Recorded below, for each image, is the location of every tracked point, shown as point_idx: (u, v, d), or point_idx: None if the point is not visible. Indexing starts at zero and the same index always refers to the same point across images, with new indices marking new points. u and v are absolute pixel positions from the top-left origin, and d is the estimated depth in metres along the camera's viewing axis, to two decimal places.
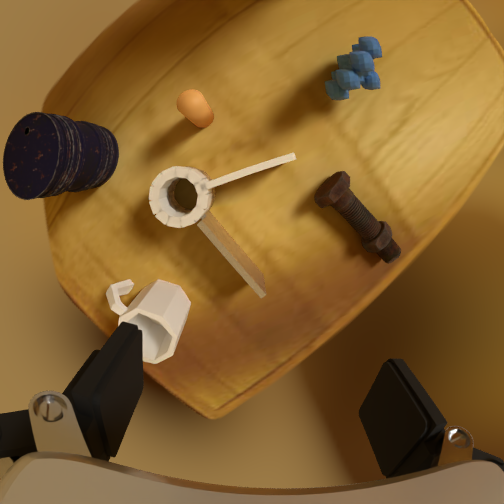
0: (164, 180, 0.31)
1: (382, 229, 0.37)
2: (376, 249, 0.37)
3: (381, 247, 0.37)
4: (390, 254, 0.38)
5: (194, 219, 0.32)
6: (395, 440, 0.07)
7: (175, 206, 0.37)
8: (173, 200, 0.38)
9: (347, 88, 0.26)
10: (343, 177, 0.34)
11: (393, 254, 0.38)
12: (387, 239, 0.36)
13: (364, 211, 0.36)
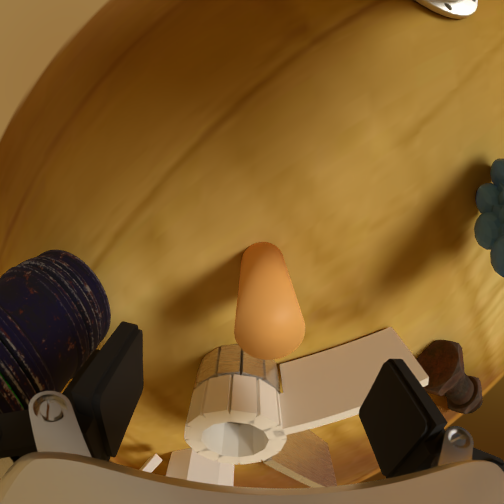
0: (210, 423, 0.16)
1: (475, 393, 0.21)
2: (462, 412, 0.22)
3: (468, 411, 0.22)
4: (472, 409, 0.23)
5: (260, 459, 0.17)
6: (395, 440, 0.07)
7: None
8: None
9: None
10: (460, 364, 0.19)
11: (475, 408, 0.23)
12: (477, 403, 0.21)
13: (465, 384, 0.21)
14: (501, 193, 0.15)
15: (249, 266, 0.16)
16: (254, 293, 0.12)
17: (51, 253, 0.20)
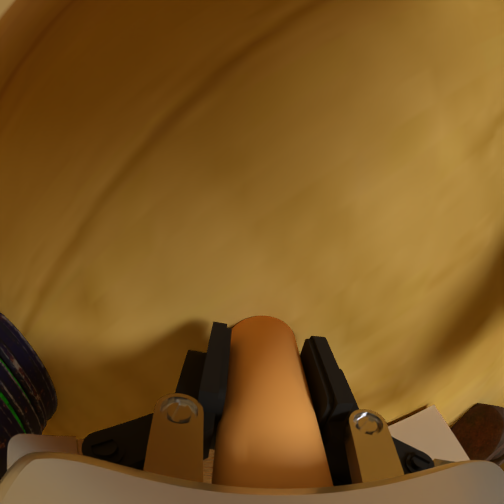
0: None
1: None
2: None
3: None
4: None
5: None
6: None
7: None
8: None
9: None
10: None
11: None
12: None
13: None
14: None
15: (236, 389, 0.08)
16: None
17: None
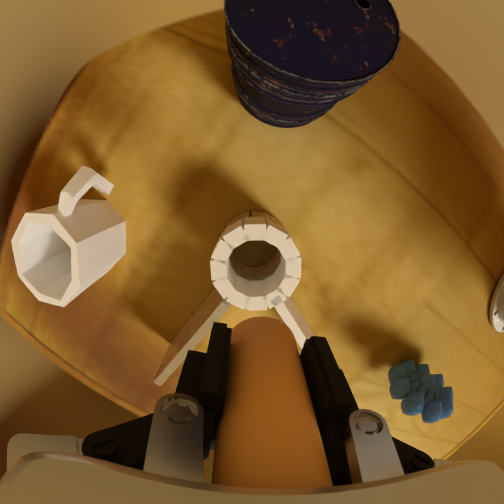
0: (278, 245, 0.21)
1: None
2: None
3: None
4: None
5: (228, 297, 0.23)
6: None
7: None
8: None
9: (405, 408, 0.24)
10: None
11: None
12: None
13: None
14: (419, 372, 0.30)
15: (236, 390, 0.08)
16: None
17: None
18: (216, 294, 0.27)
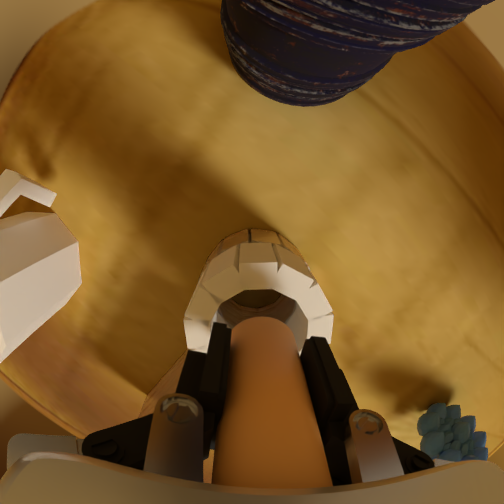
0: (296, 296, 0.12)
1: None
2: None
3: None
4: None
5: None
6: None
7: None
8: None
9: None
10: None
11: None
12: None
13: None
14: (451, 418, 0.21)
15: (236, 390, 0.08)
16: None
17: None
18: None
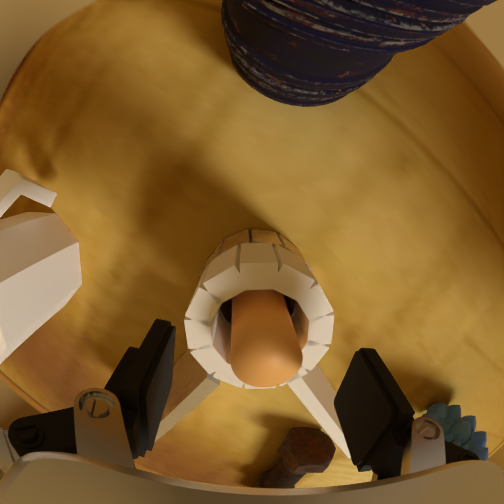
0: (297, 296, 0.12)
1: None
2: None
3: None
4: None
5: (217, 372, 0.14)
6: (364, 429, 0.08)
7: None
8: None
9: None
10: (329, 462, 0.21)
11: None
12: None
13: (297, 480, 0.23)
14: (452, 418, 0.21)
15: None
16: (250, 323, 0.12)
17: None
18: None
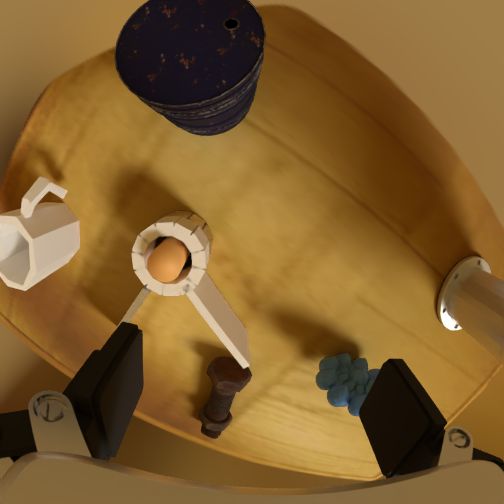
0: (183, 239, 0.25)
1: (223, 422, 0.36)
2: (204, 424, 0.36)
3: (208, 428, 0.36)
4: (208, 433, 0.37)
5: (148, 284, 0.26)
6: (395, 440, 0.07)
7: None
8: None
9: (328, 399, 0.28)
10: (244, 383, 0.33)
11: (210, 435, 0.37)
12: (218, 429, 0.36)
13: (227, 405, 0.35)
14: (352, 365, 0.34)
15: None
16: (157, 247, 0.24)
17: None
18: None
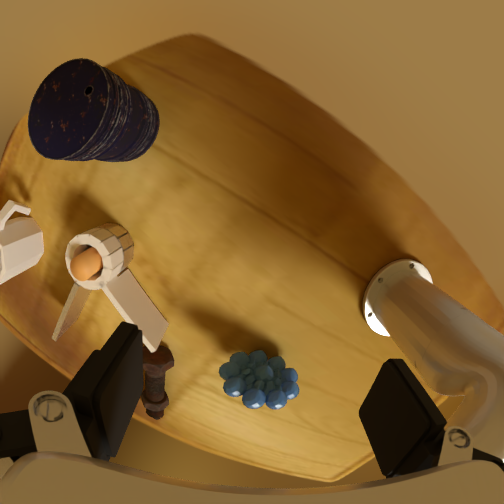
0: (96, 247, 0.30)
1: (158, 403, 0.41)
2: (144, 404, 0.41)
3: (147, 408, 0.40)
4: (150, 413, 0.42)
5: (77, 280, 0.31)
6: (395, 440, 0.07)
7: None
8: None
9: (223, 388, 0.33)
10: (163, 366, 0.38)
11: (152, 415, 0.42)
12: (155, 409, 0.41)
13: (158, 387, 0.40)
14: (262, 362, 0.38)
15: None
16: (77, 255, 0.29)
17: (156, 114, 0.32)
18: None
